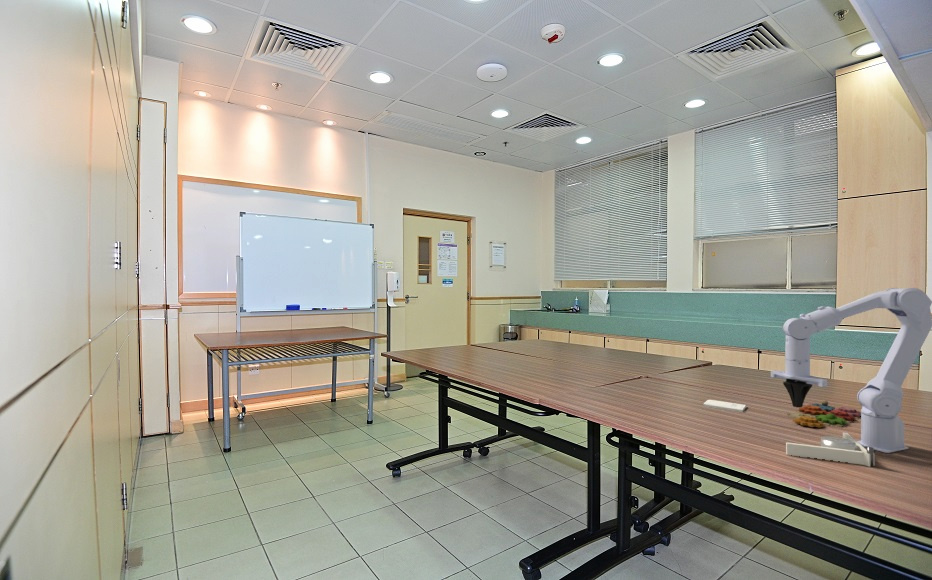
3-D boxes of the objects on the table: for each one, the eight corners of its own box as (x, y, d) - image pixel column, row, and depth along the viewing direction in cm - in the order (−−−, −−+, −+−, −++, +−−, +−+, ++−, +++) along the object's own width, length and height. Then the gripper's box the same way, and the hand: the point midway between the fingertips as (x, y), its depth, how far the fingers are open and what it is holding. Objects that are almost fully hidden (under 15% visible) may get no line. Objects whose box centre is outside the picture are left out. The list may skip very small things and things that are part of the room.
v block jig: (844, 442, 125) (844, 426, 125) (903, 459, 113) (903, 442, 113) (784, 453, 117) (784, 436, 117) (840, 473, 105) (840, 454, 105)
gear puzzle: (830, 435, 133) (830, 421, 133) (770, 421, 147) (770, 409, 147) (866, 417, 150) (866, 406, 150) (809, 407, 164) (809, 396, 164)
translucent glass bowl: (831, 449, 120) (831, 435, 120) (862, 459, 114) (862, 443, 114) (814, 453, 118) (814, 438, 118) (844, 462, 111) (844, 446, 111)
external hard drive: (708, 403, 171) (746, 408, 163) (703, 407, 164) (742, 413, 156) (708, 399, 171) (746, 404, 163) (703, 403, 164) (742, 409, 156)
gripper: (763, 356, 134) (763, 401, 134) (814, 364, 120) (815, 414, 120) (780, 355, 136) (780, 399, 136) (832, 363, 122) (832, 412, 123)
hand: (797, 406), depth 128 cm, fingers closed
